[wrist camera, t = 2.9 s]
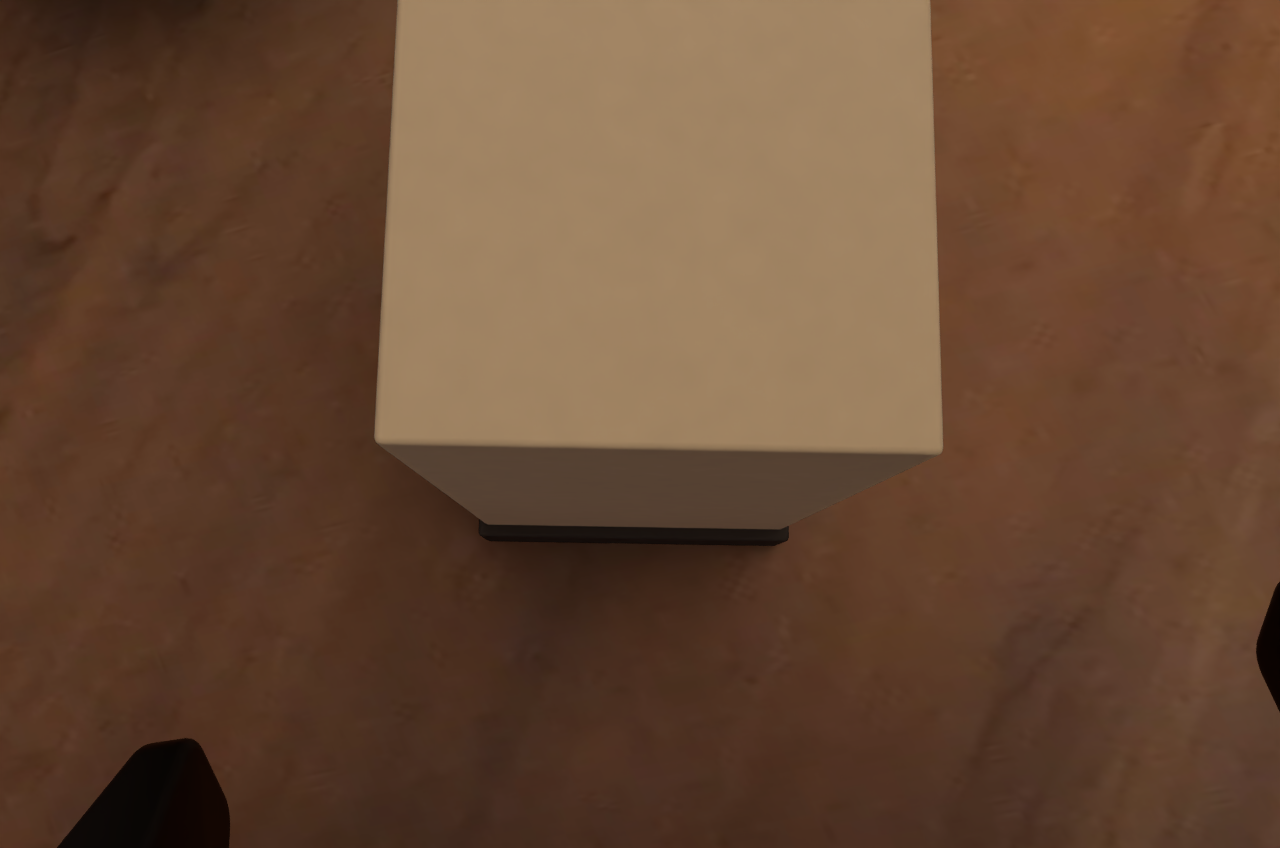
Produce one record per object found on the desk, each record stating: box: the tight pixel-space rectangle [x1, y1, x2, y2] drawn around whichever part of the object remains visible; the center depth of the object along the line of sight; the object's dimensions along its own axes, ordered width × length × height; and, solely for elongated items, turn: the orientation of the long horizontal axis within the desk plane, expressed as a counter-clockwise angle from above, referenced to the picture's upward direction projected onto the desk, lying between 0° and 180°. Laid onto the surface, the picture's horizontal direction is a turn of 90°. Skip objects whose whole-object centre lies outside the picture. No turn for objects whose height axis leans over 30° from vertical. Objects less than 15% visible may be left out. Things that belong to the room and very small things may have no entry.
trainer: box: [374, 0, 943, 546], centre depth 17 cm, size 11×5×11 cm, turn 179°
